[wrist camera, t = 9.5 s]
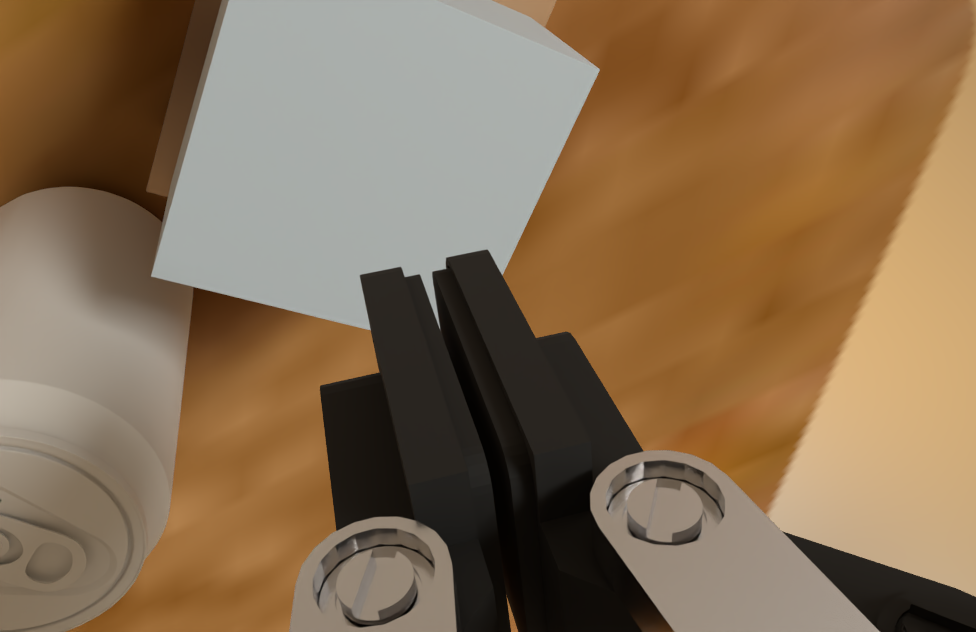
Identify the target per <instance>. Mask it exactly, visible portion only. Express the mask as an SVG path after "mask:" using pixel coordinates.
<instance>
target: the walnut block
mask: <svg viewBox="0 0 976 632" xmlns="http://www.w3.org/2000/svg"><path fill="white" fill-rule="evenodd" d="M221 1H222V0H195V3H194V7H193V11H192V14H191V18H190V22H189V26H188V30H187V34H186V38H185V42H184V45H183V49H182V53H181V57H180V61H179V65H178V69H177V72H176V76H175V80H174V84H173V88H172V92H171V96H170V100H169V103H168V107H167V111H166V115H165V119H164V123H163V127H162V130H161V134H160V138H159V142H158V146H157V150H156V154H155V158H154V161H153V165H152V169H151V173H150V177H149V181H148V185H147V188H146V192H150V193H154V194H157V195H161V196H164V197H168V194H169V190H170V185H171V181H172V177H173V174H174V170H175V166H176V163H177V159H178V156H179V152H180V149H181V145H182V141H183V138H184V134H185V131H186V127H187V123H188V120H189V116H190V113H191V109H192V105H193V102H194V98H195V95H196V91H197V87H198V84H199V80H200V77H201V73H202V70H203V66H204V62H205V59H206V55H207V52H208V48H209V44H210V41H211V37H212V34H213V30H214V26H215V23H216V19H217V16H218V12H219V8H220V5H221ZM492 1H494V2H497V3H499V4H501V5H504V6H506V7H508V8H510V9H513V10H515V11H517V12H520V13H522V14H524V15H526V16H529V17H531V18H532V19H534V20H535V21H536V22H538V23H539V24H540V25H542V26H543V27H544V28H545V26H546V23H547V21H548V19H549V17H550V14H551V12H552V10H553V7H554V5H555V3H556V0H492Z"/></svg>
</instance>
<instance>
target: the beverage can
mask: <svg viewBox="0 0 976 632" xmlns="http://www.w3.org/2000/svg"><path fill="white" fill-rule="evenodd" d="M161 227H162V222H161V221H160V220H159V219H158V218H156V217H155V216H154V215H153V214H151V213H150V212H148V211H147V210H146V209H144V208H142V207H141V206H139V205H137V204H136V203H134V202H132V201H130V200H128V199H125V198H123V197H120V196H118V195H115V194H112V193H109V192H105V191H101V190H96V189H91V188H83V187H56V188H47V189H42V190H38V191H34V192H30V193H27V194H24V195H22V196H20V197H18V198H16V199H14V200H12V201H10V202H8V203H7V204H5V205H3V206H1V207H0V632H65V631H68V630H70V629H73V628H75V627H78V626H80V625H82V624H84V623H86V622H88V621H90V620H92V619H94V618H95V617H97V616H99V615H100V614H102V613H103V612H105V611H106V610H108V609H109V608H110V607H112V606H113V605H114V604H115V603H116V602H117V601H119V600H120V599H121V598H122V597H123V596H124V595H125V593H126V592H127V591H128V590H129V589H130V587H131V586H132V585H133V583H134V582H135V580H136V578H137V577H138V574H139V572H140V570H141V568H142V566H143V562H144V560H145V559H146V557H147V556H148V555H149V554H150V552H151V551H152V550H153V549H154V547H155V546H156V544H157V543H158V541H159V539H160V537H161V535H162V533H163V531H164V529H165V526H166V523H167V520H168V515H169V511H170V502H171V493H172V484H173V475H174V466H175V457H176V447H177V438H178V429H179V420H180V411H181V402H182V393H183V383H184V374H185V365H186V356H187V347H188V338H189V329H190V319H191V310H192V301H193V287H192V286H188V285H184V284H180V283H176V282H172V281H168V280H163V279H159V278H155V277H151V274H152V269H153V265H154V260H155V255H156V251H157V246H158V241H159V237H160V232H161Z"/></svg>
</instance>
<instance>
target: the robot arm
mask: <svg viewBox="0 0 976 632" xmlns="http://www.w3.org/2000/svg"><path fill="white" fill-rule="evenodd" d="M432 278H433V286H434V292H435V299H436V305H437V312H438V318H439V325H440V328H439V325H438V323H437V320H436V317H435V314H434V312H433V309H432V306H431V303H430V301H429V298H428V295H427V292H426V289H425V287H424V284H423V281H422V278H421V276H420V274H418V275H413V276H408V277H405V276H404V273H403V270H402V268H401V267H397V268H392V269H387V270H382V271H377V272H372V273H367V274H362V275H360V280H361V285H362V290H363V295H364V300H365V305H366V310H367V314H368V319H369V324H370V329H371V334H372V338H373V343H374V348H375V353H376V358H377V363H378V367H379V372H380V373H376V374H371V375H366V376H362V377H357V378H353V379H348V380H344V381H339V382H335V383H330V384H325V385H321V386H320V394H321V403H322V411H323V420H324V428H325V437H326V445H327V454H328V462H329V471H330V479H331V488H332V496H333V505H334V513H335V522H336V530H337V531H336V532H334V533H332V534H331V535H330V536H328V537H327V538H326V539H325V540H324V541H322V542H321V543H320V544H319V545H317V546H316V547H315V548H314V549H313V551H312V552H311V554H310V555H309V556H308V558H307V559H306V561H305V562H304V563H303V565H302V567H301V570H300V573H299V576H298V579H297V582H296V585H295V593H294V600H293V608H292V615H291V623H290V631H289V632H511V628H510V620H509V612H508V605H507V598H508V601H509V604H510V607H511V610H512V613H513V616H514V619H515V623H516V626H517V629H518V632H976V597H974V596H972V595H970V594H968V593H965V592H963V591H961V590H958V589H956V588H953V587H950V586H947V585H944V584H941V583H938V582H935V581H932V580H929V579H926V578H922V577H920V576H916V575H913V574H910V573H907V572H904V571H901V570H898V569H895V568H892V567H888V566H885V565H883V564H880V563H876V562H874V561H871V560H867V559H865V558H862V557H858V556H855V555H852V554H849V553H846V552H843V551H840V550H837V549H834V548H831V547H828V546H825V545H822V544H819V543H816V542H812V541H810V540H807V539H804V538H800V537H797V536H794V535H791V534H788V533H785V532H782V531H781V530H780V529H779V528H778V527H777V526H776V525H775V524H774V523H773V522H772V521H771V520H770V519H769V518H768V517H767V516H766V514H765V513H764V512H763V511H762V510H761V509H760V508H759V507H758V506H757V505H756V504H755V503H754V502H753V501H752V500H751V499H750V498H749V497H748V496H747V495H746V494H745V493H744V492H743V491H742V490H741V489H740V488H739V487H738V486H737V485H736V484H735V483H734V482H733V481H732V480H731V479H730V478H729V477H728V476H727V475H726V474H725V473H723V472H722V471H721V470H720V469H718V468H717V467H716V466H714V465H713V464H712V463H710V462H707V461H705V460H703V459H700V458H698V457H696V456H694V455H691V454H686V453H681V452H676V451H670V450H657V451H643V450H642V448H641V446H640V445H639V443H638V442H637V440H636V438H635V437H634V435H633V433H632V432H631V430H630V428H629V427H628V425H627V424H626V422H625V420H624V419H623V417H622V415H621V414H620V412H619V410H618V409H617V407H616V405H615V404H614V402H613V401H612V399H611V397H610V396H609V394H608V392H607V391H606V389H605V387H604V386H603V384H602V383H601V381H600V379H599V378H598V376H597V374H596V373H595V371H594V369H593V368H592V366H591V364H590V363H589V361H588V360H587V358H586V356H585V355H584V353H583V351H582V350H581V348H580V346H579V345H578V343H577V341H576V340H575V338H574V337H573V336H572V335H571V333H569V332H562V333H558V334H553V335H549V336H544V337H540V338H535V336H534V334H533V332H532V330H531V328H530V326H529V325H528V323H527V321H526V319H525V317H524V315H523V313H522V311H521V310H520V308H519V306H518V304H517V302H516V300H515V298H514V297H513V295H512V293H511V291H510V289H509V287H508V285H507V284H506V282H505V280H504V278H503V276H502V274H501V272H500V270H499V269H498V267H497V265H496V263H495V261H494V259H493V257H492V256H491V254H490V252H489V251H488V249H486V250H481V251H476V252H471V253H466V254H461V255H456V256H451V257H446V269H442V270H437V271H432ZM506 595H507V597H506Z"/></svg>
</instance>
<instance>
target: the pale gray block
mask: <svg viewBox="0 0 976 632" xmlns="http://www.w3.org/2000/svg"><path fill="white" fill-rule="evenodd" d="M599 70H600V69H599V68H597V67H596V66H595V65H593V64H592V63H591V62H589V61H588V60H587V59H585V58H584V57H583V56H581V55H580V54H579V53H577V52H576V51H575V50H573V49H572V48H571V47H569V46H568V45H567V44H565V43H564V42H563V41H561V40H560V39H559V38H558V37H556V36H555V35H554V34H552V33H551V32H550V31H548V30H547V29H546V28H544V27H543V26H542V25H540V24H539V23H538V22H536V21H535V20H534V19H532V18H531V17H529V16H526V15H524V14H522V13H520V12H517V11H515V10H513V9H510V8H508V7H506V6H504V5H501V4H499V3H497V2H494V1H492V0H222V1H221V5H220V8H219V12H218V16H217V19H216V23H215V26H214V30H213V34H212V37H211V41H210V44H209V48H208V52H207V55H206V59H205V62H204V66H203V70H202V73H201V77H200V80H199V84H198V87H197V91H196V95H195V98H194V102H193V105H192V109H191V113H190V116H189V120H188V123H187V127H186V131H185V134H184V138H183V141H182V145H181V149H180V152H179V156H178V159H177V163H176V166H175V170H174V174H173V177H172V181H171V185H170V190H169V194H168V199H167V204H166V208H165V213H164V218H163V222H162V227H161V232H160V237H159V241H158V246H157V251H156V255H155V260H154V265H153V269H152V274H151V277H155V278H159V279H163V280H168V281H172V282H176V283H180V284H184V285H188V286H192V287H196V288H200V289H204V290H208V291H212V292H217V293H221V294H225V295H229V296H233V297H237V298H241V299H245V300H249V301H253V302H257V303H261V304H266V305H270V306H274V307H278V308H282V309H286V310H290V311H294V312H298V313H302V314H306V315H311V316H315V317H319V318H323V319H327V320H331V321H335V322H339V323H343V324H347V325H351V326H355V327H360V328H364V329H368V330H371V329H370V324H369V319H368V314H367V310H366V305H365V300H364V295H363V290H362V285H361V280H360V275H362V274H367V273H372V272H377V271H382V270H387V269H392V268H397V267H401V268H402V270H403V273H404V276H405V277H408V276H413V275H418V274H420V276H421V278H422V281H423V284H424V287H425V289H426V292H427V295H428V298H429V301H430V303H431V306H432V309H433V312H434V314H435V317H436V320H437V323H438V325H439V318H438V312H437V305H436V299H435V292H434V286H433V278H432V271H437V270H442V269H446V257H451V256H456V255H461V254H466V253H471V252H476V251H481V250H486V249H488V251H489V252H490V254H491V256H492V257H493V259H494V261H495V263H496V265H497V267H498V269H499V270H500V272H501V274H502V275H503V273H504V271H505V268H506V266H507V264H508V262H509V260H510V258H511V256H512V254H513V252H514V249H515V247H516V245H517V243H518V241H519V239H520V237H521V235H522V233H523V231H524V228H525V226H526V224H527V222H528V220H529V218H530V216H531V214H532V212H533V209H534V207H535V205H536V203H537V201H538V199H539V197H540V195H541V193H542V190H543V188H544V186H545V184H546V182H547V180H548V178H549V176H550V174H551V172H552V169H553V167H554V165H555V163H556V161H557V159H558V157H559V155H560V153H561V150H562V148H563V146H564V144H565V142H566V140H567V138H568V136H569V134H570V132H571V129H572V127H573V125H574V123H575V121H576V119H577V117H578V115H579V113H580V110H581V108H582V106H583V104H584V102H585V100H586V98H587V96H588V94H589V91H590V89H591V87H592V85H593V83H594V81H595V79H596V77H597V75H598V73H599ZM439 328H440V325H439Z"/></svg>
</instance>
